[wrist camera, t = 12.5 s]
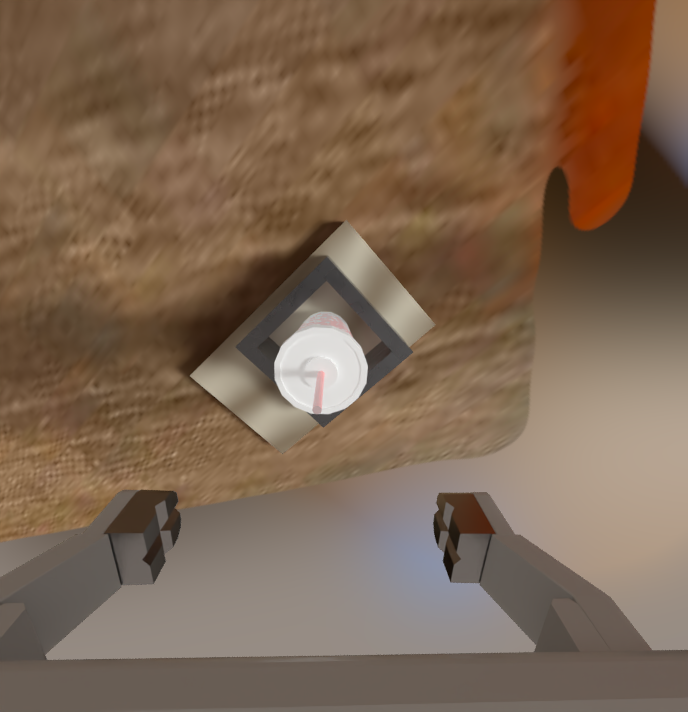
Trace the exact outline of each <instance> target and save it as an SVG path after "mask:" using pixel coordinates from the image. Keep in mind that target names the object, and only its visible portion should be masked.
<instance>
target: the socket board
mask: <svg viewBox="0 0 688 712" xmlns="http://www.w3.org/2000/svg"><path fill="white" fill-rule="evenodd" d="M327 256H329V257H330V258H331V259H332V260H333V261H334V262H335V264H336V265H337V266H338V267H339V268H340V269H341V270H342V271H343V272H344V274H345V275H346V276H347V277H348V278H349V279H350V280H351V281H352V282H353V284H354V285H355V286H356V287H357V288H358V289H359V290H360V291H361V292H362V294H363V295H364V296H365V297H366V298H367V299H368V300H369V301H370V303H371V304H372V305H373V306H374V307H375V308H376V309H377V310H378V311H379V313H380V314H381V315H382V316H383V317H384V318H385V319H386V320H387V321H388V323H389V324H390V325H391V326H392V327H393V328H394V329H395V330H396V331H397V333H398V334H399V335H400V336H401V337H402V338H403V339H404V341H405V342H406V343H407V345H408V346H409V347H410V346H411V345H412V344H413V343H414V342H416V341H417V340H418V339H419V338H420V337H422V336H423V335H424V334H425V333H426V332H427V331H429V330H430V329H431V328H432V327H433V326H435V324H434V323H433V321H432V320H431V319H430V318H429V317H428V315H427V314H426V313H425V312H424V311H423V310H422V308H421V307H420V306H419V305H418V304H417V302H416V301H415V300H414V299H413V298H412V297H411V295H410V294H409V293H408V292H407V291H406V290H405V288H404V287H403V286H402V285H401V284H400V282H399V281H398V280H397V279H396V278H395V277H394V275H393V274H392V273H391V272H390V271H389V270H388V268H387V267H386V266H385V265H384V264H383V262H382V261H381V260H380V259H379V258H378V257H377V255H376V254H375V253H374V252H373V251H372V249H371V248H370V247H369V246H368V245H367V244H366V242H365V241H364V240H363V239H362V238H361V237H360V235H359V234H358V233H357V232H356V231H355V229H354V228H353V227H352V226H351V225H350V224H349V222H348V221H347V220H346V221H345V222H344V223H343V224H342V225H341V226H340V227H339V228H338V229H337V230H336V231H335V232H334V233H333V234H332V235H331V236H330V237H329V238H328V239H327V240H326V241H325V242H324V243H323V244H322V245H321V246H320V247H319V248H318V249H317V250H316V251H315V252H314V253H313V254H311V255H310V256H309V257H308V258H307V259H306V260H305V261H304V262H303V263H302V264H301V265H300V266H299V267H298V268H297V269H296V270H295V271H294V272H293V273H292V274H291V275H290V276H289V277H288V278H287V279H286V280H285V281H284V282H283V283H282V284H281V285H280V286H279V287H278V288H277V289H276V290H275V291H274V292H273V293H272V294H271V295H270V296H269V297H268V298H267V299H266V300H265V301H264V302H263V303H262V304H261V305H260V306H259V307H258V308H257V309H256V310H255V311H254V312H253V313H252V314H251V315H250V316H249V317H248V318H247V319H246V320H245V321H244V322H243V323H242V324H241V325H240V326H239V327H238V328H237V329H236V330H235V331H234V332H233V333H232V334H231V335H230V336H229V337H228V338H227V339H226V340H225V341H224V342H223V343H222V344H221V345H220V346H219V347H218V348H217V349H216V350H215V351H214V352H213V353H212V354H211V355H210V356H209V357H208V358H207V359H206V360H205V361H204V362H203V363H202V364H201V365H200V366H199V367H198V368H197V369H196V370H195V371H194V372H193V373H192V374H191V375H190V377H192V378H193V379H194V380H195V381H196V382H197V383H199V384H200V385H201V386H202V387H203V388H205V389H206V390H207V391H208V392H209V393H211V394H212V395H213V396H214V397H215V398H216V399H218V400H219V401H220V402H221V403H222V404H224V405H225V406H226V407H227V408H228V409H230V410H231V411H232V412H233V413H234V414H235V415H237V416H238V417H239V418H240V419H241V420H243V421H244V422H245V423H246V424H247V425H249V426H250V427H251V428H252V429H253V430H254V431H256V432H257V433H258V434H259V435H260V436H262V437H263V438H264V439H265V440H266V441H268V442H269V443H270V444H271V445H272V446H273V447H275V448H276V449H277V450H278V451H279V452H281V453H282V454H283V453H284V452H286V451H287V450H288V449H289V448H290V447H291V446H293V445H294V444H295V443H296V442H297V441H299V440H300V439H301V438H302V437H303V436H304V435H306V434H307V433H308V432H309V431H310V430H312V429H313V428H314V427H315V426H316V425H317V424H319V423H318V422H317V421H316V420H315V419H313V418H312V417H311V416H310V415H309V414H308V413H307V412H306V411H303V410H301V409H298V408H296V407H294V406H293V405H292V404H291V403H290V402H289V401H288V400H287V399H286V398H284V397H283V396H282V394H281V392H280V390H279V388H278V386H277V385H276V384H275V383H274V382H273V381H272V380H271V379H270V378H268V377H267V376H266V375H265V374H264V373H263V372H262V371H261V370H260V369H259V368H258V367H256V366H255V365H254V364H253V363H252V362H251V361H250V360H249V359H248V358H247V357H245V356H244V355H243V354H242V353H241V352H240V351H239V350H238V349H237V348H236V346H237V345H238V344H239V343H240V342H241V341H242V340H243V339H244V338H245V337H246V336H247V335H248V334H249V333H250V332H251V331H252V330H253V329H254V328H255V327H256V326H257V325H258V324H259V323H260V322H261V321H262V320H263V319H264V318H265V317H266V316H267V315H268V314H269V313H270V312H271V311H272V310H273V309H274V308H275V307H276V306H277V305H278V304H279V303H280V302H281V301H282V300H283V299H284V298H285V297H286V296H287V295H288V294H289V293H290V292H291V291H292V290H293V289H294V288H295V287H296V286H297V285H298V284H299V283H300V282H302V281H303V280H304V279H305V278H306V277H307V276H308V275H309V274H310V273H311V272H312V271H313V270H314V269H315V268H316V267H317V266H318V265H319V264H320V263H321V262H322V261H323V260H324V259H325V258H326V257H327ZM318 312H332V313H334V314H336V315H339V316H340V317H341V318H342V319H343V320H344V321H345V322H346V323H347V325H348V327H349V330H350V332H351V334H352V336H353V338H354V339H355V340H356V342H357V343H358V344H359V345H360V346H361V348H362V351H363V353H364V356H365V355H366V354H367V353H368V352H370V351H371V350H372V349H373V348H374V347H375V346H376V345H378V344H379V343H380V342H381V341H382V340H381V339H380V338H379V337H378V336H377V335H376V334H375V333H374V331H373V330H372V329H371V328H370V327H369V326H368V325H367V324H366V323H365V322H364V321H363V320H362V318H361V317H360V316H359V315H358V314H357V313H356V312H355V311H354V310H353V309H352V308H351V307H350V305H349V304H348V303H347V302H346V301H345V300H344V299H343V298H342V297H341V296H340V295H339V294H338V292H337V291H336V290H335V289H334V288H333V287H332V286H331V285H330V284H329V283H328V282H327V281H326V282H325V283H324V284H323V285H322V286H321V287H320V288H319V289H317V290H316V291H315V292H314V293H313V294H312V295H311V296H310V297H309V298H308V299H307V300H306V301H305V302H304V303H303V304H302V305H301V306H300V307H299V308H298V309H297V310H296V311H295V312H294V313H292V314H291V315H290V316H289V317H288V318H287V319H286V320H285V321H284V322H283V323H282V324H281V325H280V326H279V327H278V328H277V329H276V330H275V331H274V332H273V333H272V334H271V335H270V336H269V337H270V338H271V339H272V340H273V341H274V342H275V343H276V344H277V345H278V346H279V347H280V348H281V346H282V344H283V343H284V342H285V341H286V340H287V339H288V338H289V337H290V336H292V335H293V334H294V333H295V332H296V331H298V329H299V328H300V327H301V325H302V324H303V323H304V321H305V320H307V319H308V318H309V317H310V316H311V315H313V314H315V313H318Z"/></svg>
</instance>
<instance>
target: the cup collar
mask: <svg viewBox="0 0 688 712" xmlns="http://www.w3.org/2000/svg"><path fill="white" fill-rule="evenodd" d="M326 281H327V282H328V283H329V284H330V285H331V286H332V287H333V288H334V289H335V290H336V291H337V292H338V294H339V295H340V296H341V297H342V298H343V299H344V300H345V301H346V302H347V303H348V304H349V305H350V307H351V308H352V309H353V310H354V311H355V312H356V313H357V314H358V315H359V316H360V317H361V318H362V320H363V321H364V322H365V323H366V324H367V325H368V326H369V327H370V328H371V329H372V330H373V331H374V333H375V334H376V335H377V336H378V337H379V338H380V339H381V340H382V341H381V342H380V343H379V344H378V345H376V346H375V347H374V348H373V349H372V350H371V351H370V352H368V353H367V354H366V355H365V359H366V362H367V365H368V370H367V383H366V385H365V387H364V388H363V390H362V392H361V394H360V396H362V395H363V394H364V393H365V392H366V391H368V390H369V389H370V388H371V387H372V386H374V385H375V384H376V383H377V382H378V381H379V380H381V379H382V378H383V377H384V376H385V375H387V374H388V373H389V372H390V371H391V370H393V369H394V368H395V367H396V366H397V365H399V364H400V363H401V362H402V361H403V360H405V359H406V358H407V357H408V356H409V355H410V354H412V353H413V351H412V350H411V349H410V347H409V346H408V345H407V343H406V342H405V341H404V339H403V338H402V337H401V336H400V335H399V334H398V333H397V331H396V330H395V329H394V328H393V327H392V326H391V325H390V324H389V323H388V321H387V320H386V319H385V318H384V317H383V316H382V315H381V314H380V313H379V311H378V310H377V309H376V308H375V307H374V306H373V305H372V304H371V303H370V301H369V300H368V299H367V298H366V297H365V296H364V295H363V294H362V292H361V291H360V290H359V289H358V288H357V287H356V286H355V285H354V284H353V282H352V281H351V280H350V279H349V278H348V277H347V276H346V275H345V274H344V272H343V271H342V270H341V269H340V268H339V267H338V266H337V265H336V264H335V262H334V261H333V260H332V259H331V258H330V257H329V256H327V257H326V258H325V259H324V260H323V261H322V262H321V263H320V264H319V265H318V266H317V267H316V268H315V269H314V270H313V271H312V272H311V273H310V274H309V275H308V276H307V277H306V278H305V279H304V280H303V281H302V282H300V283H299V284H298V285H297V286H296V287H295V288H294V289H293V290H292V291H291V292H290V293H289V294H288V295H287V296H286V297H285V298H284V299H283V300H282V301H281V302H280V303H279V304H278V305H277V306H276V307H275V308H274V309H273V310H272V311H271V312H270V313H269V314H268V315H267V316H266V317H265V318H264V319H263V320H262V321H261V322H260V323H259V324H258V325H257V326H256V327H255V328H254V329H253V330H252V331H251V332H250V333H249V334H248V335H247V336H246V337H245V338H244V339H243V340H242V341H241V342H240V343H239V344H238V345H237V346H236V348H237V349H238V350H239V351H240V352H241V353H242V354H243V355H244V356H245V357H247V358H248V359H249V360H250V361H251V362H252V363H253V364H254V365H255V366H256V367H258V368H259V369H260V370H261V371H262V372H263V373H264V374H265V375H266V376H267V377H268V378H270V379H271V380H272V381H273V382H274V383H275V384H276V385H277V383H276V381H275V371H274V362H275V360H276V357H277V355H278V353H279V350H280V347H279V346H278V345H277V344H276V343H275V342H274V341H273V340H272V339H271V338H270V337H269V336H270V335H271V334H272V333H273V332H274V331H275V330H276V329H277V328H278V327H279V326H280V325H281V324H282V323H283V322H284V321H285V320H286V319H287V318H288V317H289V316H290V315H291V314H292V313H294V312H295V311H296V310H297V309H298V308H299V307H300V306H301V305H302V304H303V303H304V302H305V301H306V300H307V299H308V298H309V297H310V296H311V295H312V294H313V293H314V292H315V291H316V290H317V289H319V288H320V287H321V286H322V285H323V284H324V283H325V282H326ZM360 396H359V397H360ZM356 400H357V399H356ZM356 400H355V401H356ZM350 405H351V404H350ZM350 405H349V406H350ZM345 409H346V408H345ZM345 409H343V410H340V411H337V412H334V413H331V414H311V413H308V412H307V413H308V414H309V415H310V416H311V417H312V418H313V419H315V420H316V421H317V422H318V423H319V424H320V425H321V426H322V427H325V426H326V425H327V424H328V423H329V422H331V421H332V420H333V419H334V418H335V417H337V416H338V415H339V414H340V413H341V412H343V411H344V410H345Z"/></svg>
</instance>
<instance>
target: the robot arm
mask: <svg viewBox="0 0 688 712" xmlns="http://www.w3.org/2000/svg"><path fill="white" fill-rule="evenodd" d="M177 503H178V497H177V493H176V492H174V491H160V490H122V491H120V492H119V493H117V495H116V496H115V497H114V498H113V499H112V500H111V501H110V503H109V504H108V505H107V506H106V507H105V508H104V510H103V511H102V512H101V513H100V514H99V515H98V516H97V518H96V519H95V520H94V521H93V522H92V523H91V524H90V526H89V527H88V528H87V529H86V530H85V531H84V532H83V534H76V535H74V536H72V537H70V538H69V539H67V540H66V541H63V542H62V543H60V544H58V545H56V546H55V547H53V548H51V549H49V550H48V551H46V552H44V553H42V554H41V555H39V556H37V557H35V558H33V559H32V560H30V561H28V562H26V563H25V564H23V565H21V566H20V567H18V568H16V569H14V570H12V571H11V572H9V573H7V574H5V575H3V576H2V577H0V712H688V650H652V649H651V648H650V647H649V645H648V644H647V643H646V642H645V640H644V639H643V638H642V636H641V635H640V634H639V633H638V631H637V630H636V629H635V628H634V626H633V625H632V624H631V623H630V621H629V620H628V619H627V617H626V616H625V615H624V614H623V612H622V611H621V610H620V609H619V607H618V606H617V605H616V604H615V602H614V601H613V600H612V599H611V597H609V596H608V595H607V594H605V593H604V592H602V591H601V590H599V589H598V588H596V587H595V586H594V585H592V584H591V583H589V582H588V581H586V580H585V579H583V578H582V577H581V576H579V575H577V574H576V573H575V572H573V571H572V570H570V569H569V568H568V567H566V566H564V565H563V564H562V563H560V562H559V561H557V560H556V559H554V558H553V557H552V556H550V555H549V554H547V553H546V552H544V551H543V550H541V549H540V548H539V547H537V546H535V545H534V544H532V543H531V542H530V541H528V540H527V539H525V538H524V537H523V536H521V535H515V534H514V532H513V531H512V529H511V527H510V526H509V524H508V523H507V521H506V520H505V518H504V517H503V515H502V513H501V512H500V510H499V509H498V507H497V506H496V504H495V503H494V501H493V500H492V498H491V496H490V495H489V494H488V493H486V492H473V493H439V495H438V497H437V505H438V508H439V510H438V511H437V512H436V513H435V514H434V522H433V525H434V535H435V539H436V543H437V545H438V548H440V549H441V550H442V551H443V552H444V557H443V563H444V565H445V568H446V571H447V574H448V576H449V579H450V582H453V583H455V582H456V583H480V586H481V587H482V588H483V589H484V590H485V591H486V592H487V593H488V594H489V595H490V596H491V597H492V598H493V600H494V601H495V602H496V603H497V604H498V605H499V606H500V607H501V608H502V609H503V610H504V611H505V612H506V613H507V614H508V615H509V617H510V618H511V619H512V620H513V621H514V622H515V623H516V624H517V625H518V626H519V627H520V628H521V629H522V631H524V633H525V634H526V635H528V637H529V638H530V639H531V640H532V641H533V642H534V643H535V644H536V648H535V651H534V652H524V653H459V654H402V655H349V656H348V655H347V656H345V655H344V656H283V657H282V656H279V657H212V658H211V657H210V658H150V659H149V658H148V659H147V658H146V659H86V660H85V659H84V660H47V659H46V656H45V654H46V653H47V652H49V651H50V650H51V649H52V648H53V647H54V646H55V645H56V644H58V643H59V642H60V641H61V640H62V639H63V638H64V637H66V636H67V635H68V634H69V633H70V632H71V631H72V630H73V629H75V628H76V627H77V626H78V625H79V624H80V623H81V622H83V620H85V619H86V618H87V617H88V616H89V615H90V614H92V613H93V612H94V611H95V610H96V609H97V608H98V607H99V606H101V605H102V604H103V603H104V602H105V601H106V600H107V599H108V598H110V597H111V596H112V595H113V594H114V593H115V592H116V591H117V590H119V589H120V588H121V585H139V584H140V585H142V584H154V582H155V581H156V579H157V577H158V575H159V573H160V571H161V569H162V567H163V566H164V564H165V562H166V561H165V556H164V554H165V553H166V552H168V551H169V550H170V549H172V548H173V547H174V545H175V543H176V541H177V539H178V535H179V532H180V528H181V516H180V512H179V511H178V510H176V509H175V506H176V504H177Z"/></svg>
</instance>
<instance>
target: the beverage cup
mask: <svg viewBox="0 0 688 712" xmlns="http://www.w3.org/2000/svg"><path fill="white" fill-rule="evenodd" d="M367 370H368V365H367V362H366V359H365V356H364V353H363V351H362V348H361V346H360V345H359V344H358V343H357V342H356V340H355V339H354V338H353V336H352V334H351V332H350V330H349V327H348V325H347V323H346V322H345V321H344V320H343V319H342V318H341V317H340V316H339V315H336V314H334V313H332V312H318V313H315V314H313V315H311V316H310V317H309V318H308V319H307V320H305V321H304V323H303V324H302V325H301V327H300V328H299V329H298V331H296V332H295V333H294V334H293V335H292V336H290V337H289V338H288V339H287V340H286V341H285V342H284V343H283V344H282V346H281V348H280V350H279V353H278V355H277V357H276V360H275V362H274V371H275V381H276V383H277V386H278V388H279V390H280V392H281V394H282V396H283V397H284V398H286V399H287V400H288V401H289V402H290V403H291V404H292V405H293V406H294V407H296V408H298V409H301V410H303V411H306V412H308V413H311V414H331V413H334V412H337V411H340V410H343V409H345V408H347V407H348V406H349V405H350V404H352V403H353V402H354V401H355V400H356V399H358V398H359V396H360V394H361V392H362V390H363V388H364V387H365V385H366V383H367Z"/></svg>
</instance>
